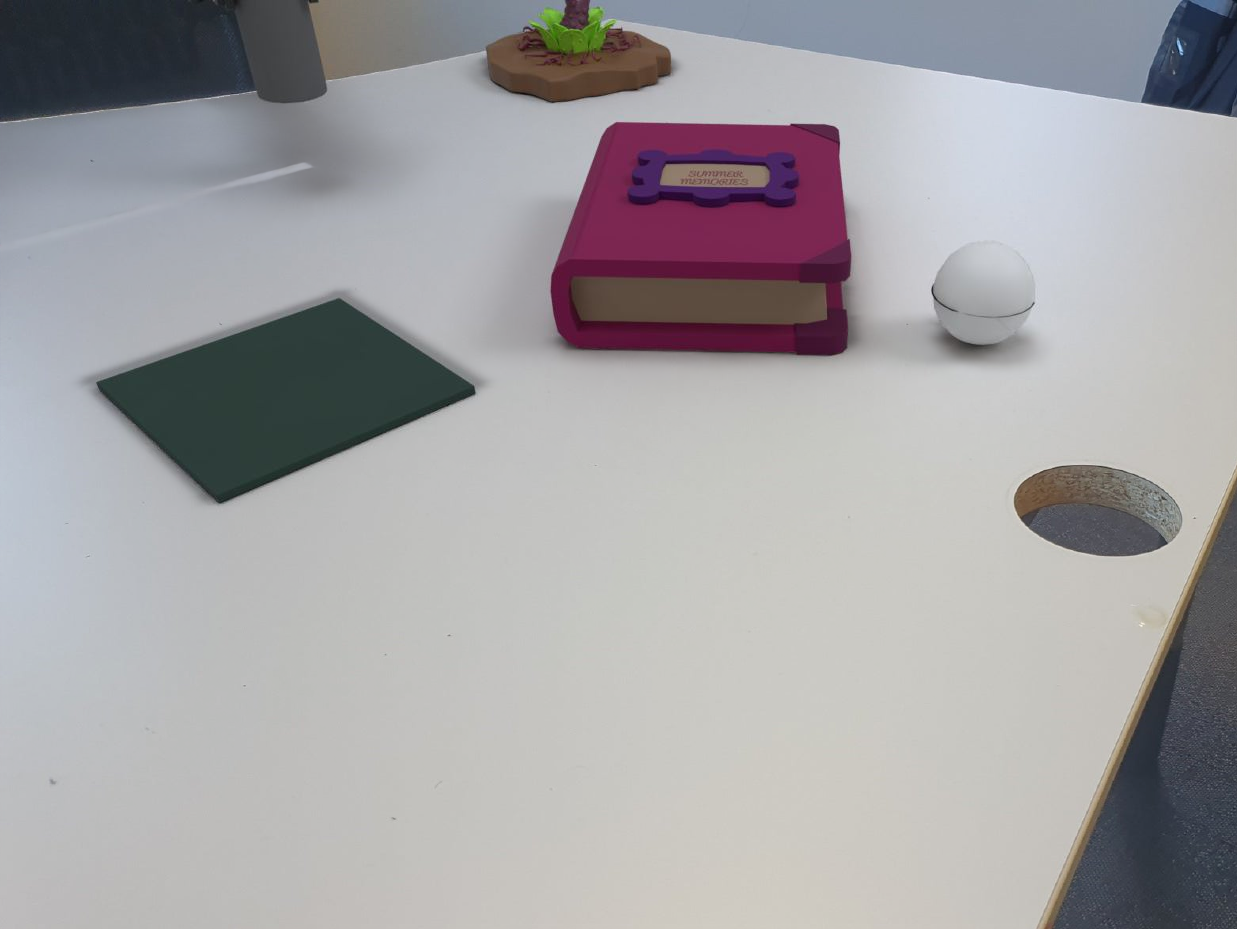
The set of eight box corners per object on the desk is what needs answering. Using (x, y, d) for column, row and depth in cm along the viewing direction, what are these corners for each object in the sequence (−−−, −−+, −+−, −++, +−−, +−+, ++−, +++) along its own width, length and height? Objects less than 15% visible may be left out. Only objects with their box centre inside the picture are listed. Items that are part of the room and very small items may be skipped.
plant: (456, 67, 131) (440, -40, 124) (593, 38, 141) (586, -63, 134) (553, 111, 120) (541, -3, 113) (694, 76, 130) (692, -31, 123)
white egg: (922, 314, 86) (932, 222, 81) (1018, 317, 86) (1035, 224, 81) (933, 381, 78) (945, 283, 74) (1039, 384, 78) (1058, 286, 74)
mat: (219, 503, 66) (216, 495, 66) (98, 389, 76) (95, 381, 75) (476, 393, 76) (474, 385, 76) (341, 304, 86) (339, 297, 85)
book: (557, 350, 81) (545, 250, 76) (604, 198, 102) (597, 112, 97) (847, 355, 81) (854, 256, 76) (834, 203, 102) (839, 117, 97)
